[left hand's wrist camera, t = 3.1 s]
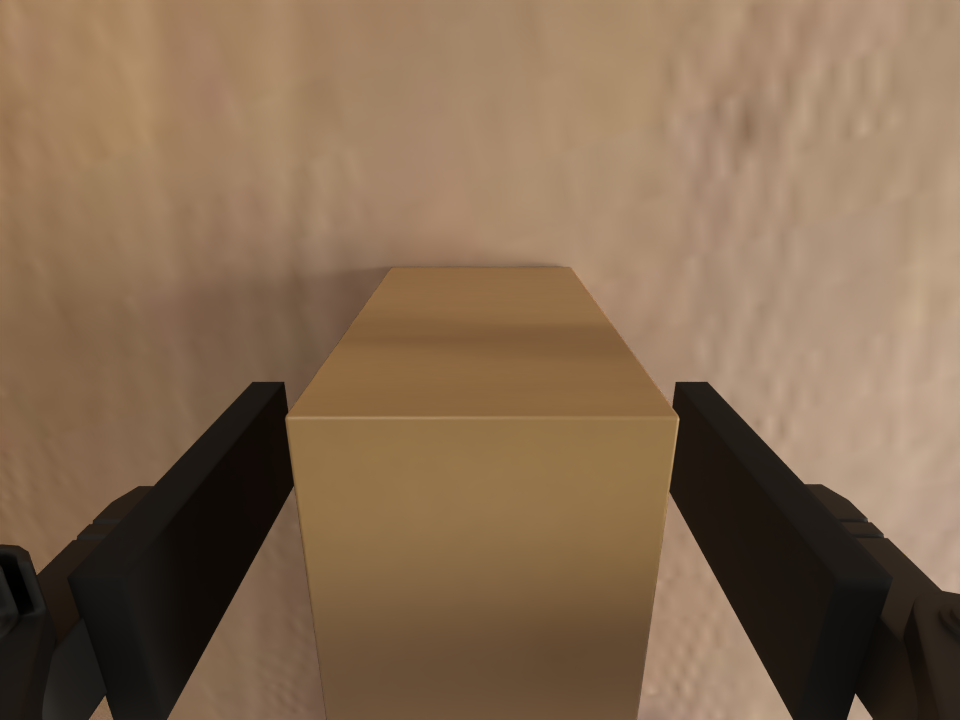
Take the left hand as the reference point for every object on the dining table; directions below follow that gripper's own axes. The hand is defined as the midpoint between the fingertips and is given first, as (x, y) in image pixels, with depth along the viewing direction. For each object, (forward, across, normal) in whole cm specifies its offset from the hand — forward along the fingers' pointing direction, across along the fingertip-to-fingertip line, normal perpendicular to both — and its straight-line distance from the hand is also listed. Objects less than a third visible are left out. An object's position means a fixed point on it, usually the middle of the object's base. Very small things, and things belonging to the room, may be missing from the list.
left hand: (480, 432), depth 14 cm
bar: (+1, 0, -9) cm, 9 cm away
